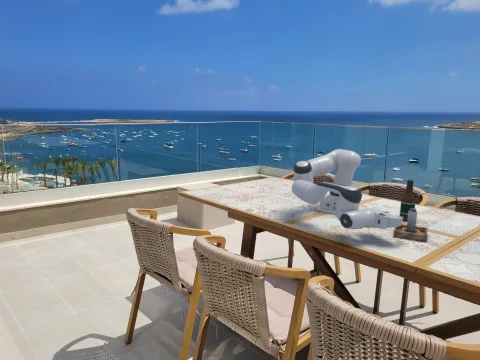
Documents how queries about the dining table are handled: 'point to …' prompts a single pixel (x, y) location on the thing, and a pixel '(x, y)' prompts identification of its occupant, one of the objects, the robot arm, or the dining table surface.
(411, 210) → the grey capped bottle
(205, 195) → the dining table surface
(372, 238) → the dining table surface
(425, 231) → the walnut box
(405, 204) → the beer bottle
